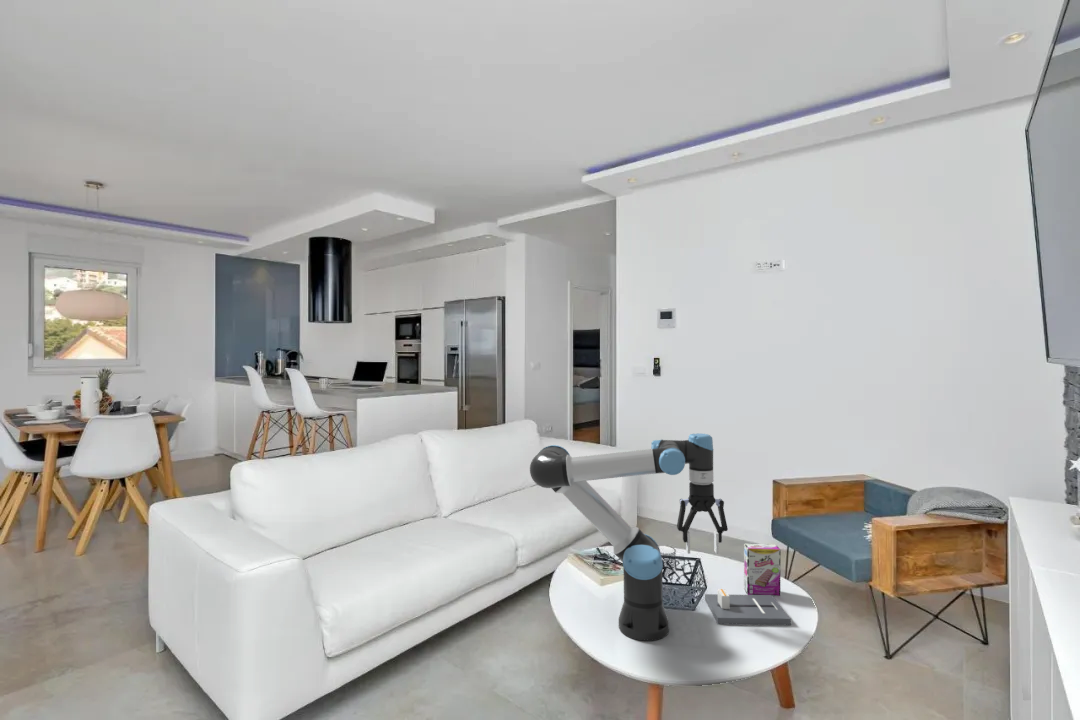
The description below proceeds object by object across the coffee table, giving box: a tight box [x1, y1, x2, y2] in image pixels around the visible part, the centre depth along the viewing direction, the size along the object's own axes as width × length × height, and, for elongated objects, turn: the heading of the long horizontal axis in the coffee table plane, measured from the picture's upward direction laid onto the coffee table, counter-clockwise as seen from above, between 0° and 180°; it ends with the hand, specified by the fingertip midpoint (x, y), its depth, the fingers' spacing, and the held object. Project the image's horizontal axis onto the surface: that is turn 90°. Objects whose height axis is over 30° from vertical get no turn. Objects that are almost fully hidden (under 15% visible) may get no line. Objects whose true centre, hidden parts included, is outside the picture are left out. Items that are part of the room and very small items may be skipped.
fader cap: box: [717, 588, 730, 609], centre depth 171 cm, size 2×5×4 cm, turn 176°
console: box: [704, 593, 792, 626], centre depth 171 cm, size 22×16×2 cm
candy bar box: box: [743, 543, 781, 597], centre depth 184 cm, size 11×5×16 cm, turn 84°
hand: (702, 552), depth 171 cm, fingers open, 8 cm apart
